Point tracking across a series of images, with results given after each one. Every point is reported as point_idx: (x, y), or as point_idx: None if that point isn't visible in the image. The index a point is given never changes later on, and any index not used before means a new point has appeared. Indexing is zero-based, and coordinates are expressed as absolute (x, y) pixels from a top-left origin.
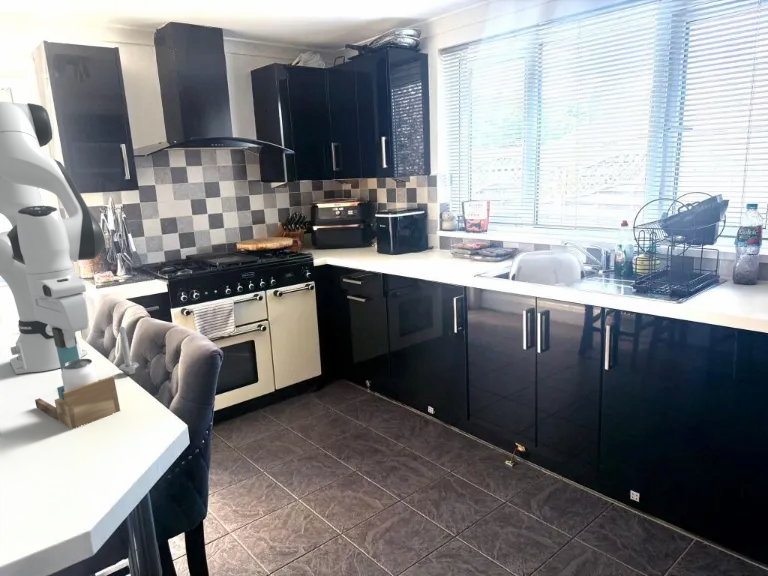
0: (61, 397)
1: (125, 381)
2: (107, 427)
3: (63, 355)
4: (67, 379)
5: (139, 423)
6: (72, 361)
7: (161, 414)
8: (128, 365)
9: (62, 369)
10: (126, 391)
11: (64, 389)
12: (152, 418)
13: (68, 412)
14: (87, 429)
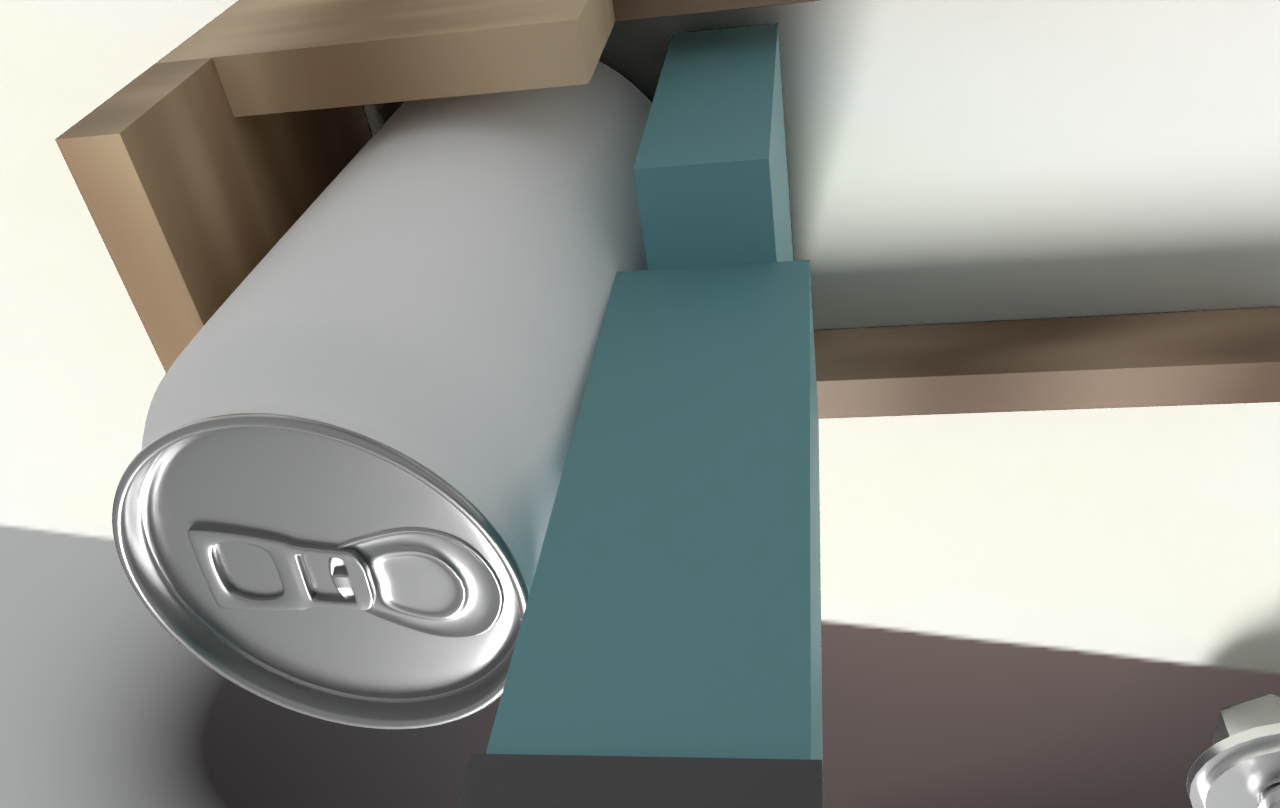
0: (680, 114)
1: (1096, 637)
2: None
3: (528, 626)
4: (225, 312)
5: (34, 375)
6: (515, 593)
7: (109, 513)
8: (1266, 791)
9: (740, 408)
10: (830, 558)
11: (419, 193)
12: (73, 456)
13: (204, 35)
14: None
